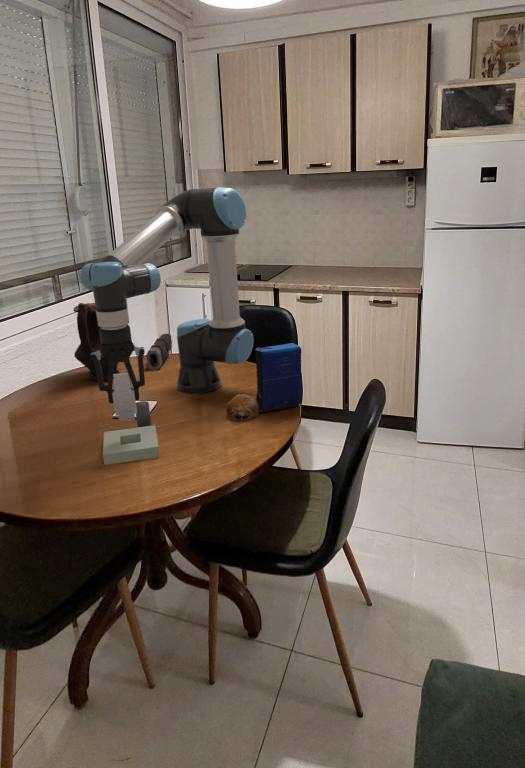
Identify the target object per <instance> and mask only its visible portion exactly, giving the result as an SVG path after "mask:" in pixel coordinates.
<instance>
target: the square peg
mask: <svg viewBox="0 0 525 768" xmlns="http://www.w3.org/2000/svg"><path fill="white" fill-rule="evenodd" d="M131 385H132V383H131V380H130V377H129V374H128V371H127V372H120V373H118V374H113V389H115V396H116V403H117V410H118V416H117V417H118V422H119V423H125V422H133V421H136V414H134V409H133V401H132V394H131V387H132V386H131Z"/></svg>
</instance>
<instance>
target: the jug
mask: <svg viewBox="0 0 525 768" xmlns="http://www.w3.org/2000/svg"><path fill="white" fill-rule="evenodd" d="M73 312H74V313H77V314H76V323H77V327H76V328H77V331H78V332H77V333H78V337H79V340H80V341H79V342H80V343H79V345H78V347H77V348H76V350H75V351H74V358H75V359H76V360H77V361H79V362H80V364H82V365H83V366H84V367H86V368H87V369H88V370H89V372H90V373H89V379H90V380H91V381H95V382H98V379H97V374H96V369H95V364H94V362H93V360H92V359H91V353H92V352H97V351H99V350H100V347H101V340H100V333H99V329H100V328H101V327H99V326H98V320H97V314H96V306H95V302H88V303H84V302H80V303H78V305H76V306H74V307H73ZM119 363H120V362H118V363H114V371H113V374H118V373H121V372H120V371H119V370H118V365H119ZM100 364H101V369H102V374H103V380H104V382H108V371H109V361H108V360H107V359H106V358H105V357H104V356H103V355H102V354H101V359H100Z"/></svg>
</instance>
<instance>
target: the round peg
mask: <svg viewBox="0 0 525 768" xmlns="http://www.w3.org/2000/svg"><path fill="white" fill-rule="evenodd" d="M149 403H150V402H149V401H147V400H141V401H137V402H136V408H137V413H136V414H135V421H136V425H137V426H136V428H138V427H145V426H152V419H151V411H150V404H149Z"/></svg>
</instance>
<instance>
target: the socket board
mask: <svg viewBox="0 0 525 768" xmlns="http://www.w3.org/2000/svg"><path fill="white" fill-rule="evenodd" d="M151 425H152V424H151ZM102 443H103V444H102V448H103V449H102V458H103V459H102V460H103V463H104V466H108V465H116V464H120V463H127V462H134V461H140V460H148V459H153V458H159V457H161V455H160V446H159V441H158V435H157V427H156V425H155V424H153V425H152V426H145V427H131V428H125V429H118V430H117V429H116V430H111V431H110V430H109V431H103V442H102Z"/></svg>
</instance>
